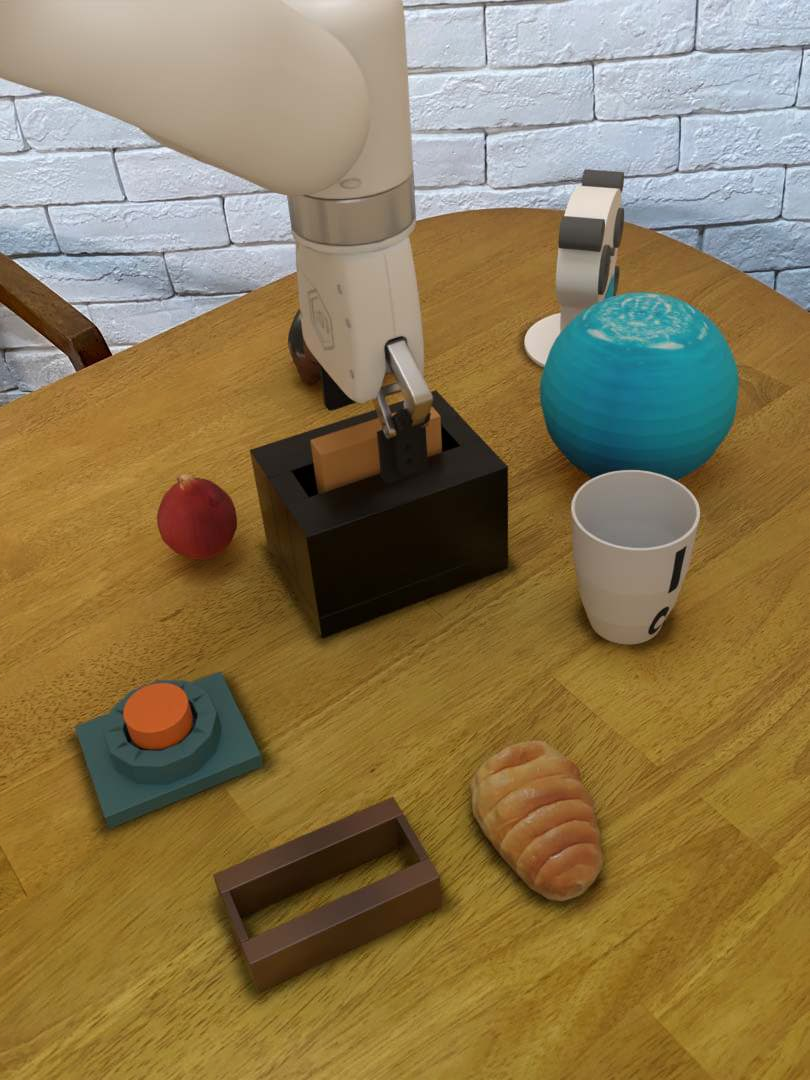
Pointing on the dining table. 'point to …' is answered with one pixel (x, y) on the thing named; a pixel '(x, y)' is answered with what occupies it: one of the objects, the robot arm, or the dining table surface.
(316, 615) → the toaster
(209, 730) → the block
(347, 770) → the dining table surface
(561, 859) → the pastry
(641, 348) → the decorative orb
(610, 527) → the cup
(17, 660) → the dining table surface
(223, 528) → the onion
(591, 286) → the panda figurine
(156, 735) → the button
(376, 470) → the toast
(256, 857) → the brown rectangular frame
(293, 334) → the brown mottled ceramic figure
